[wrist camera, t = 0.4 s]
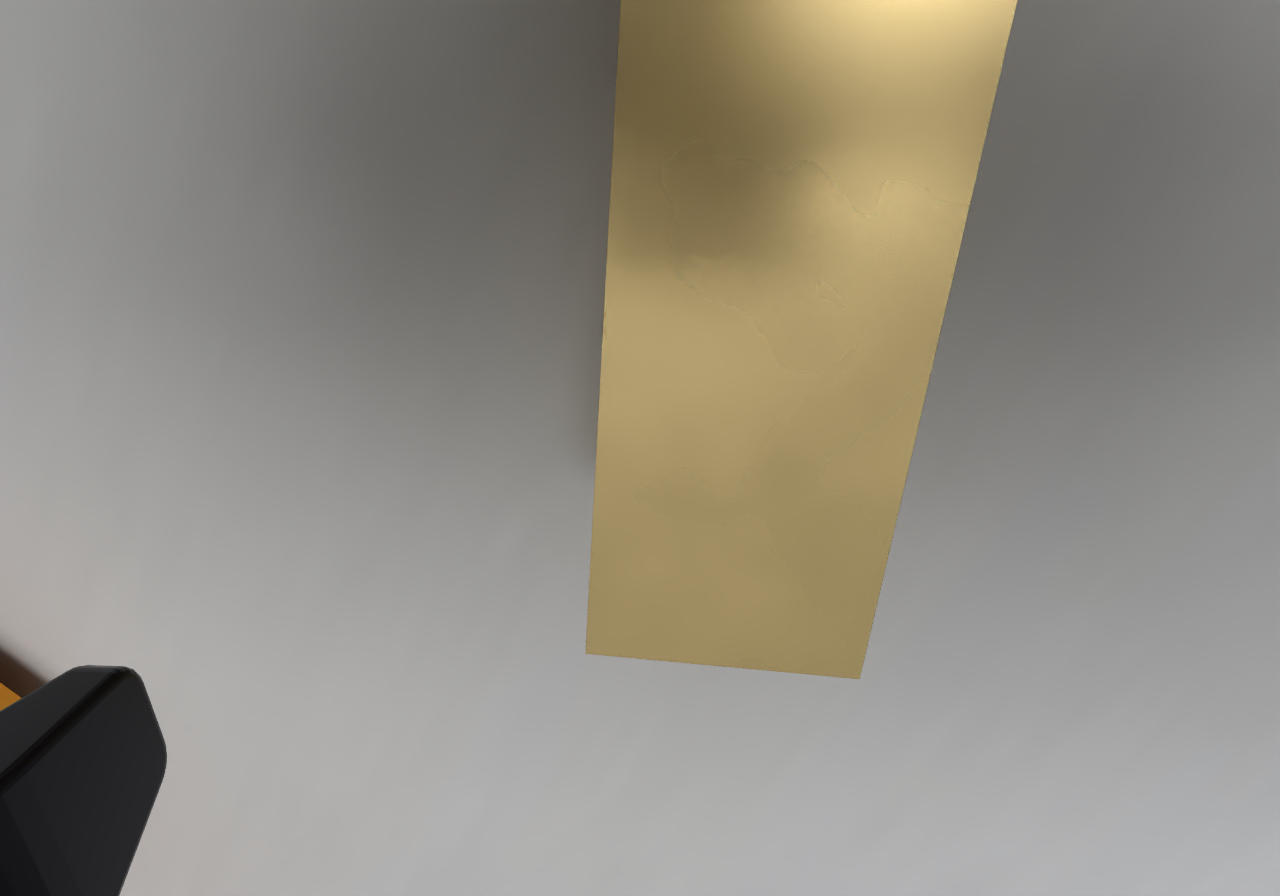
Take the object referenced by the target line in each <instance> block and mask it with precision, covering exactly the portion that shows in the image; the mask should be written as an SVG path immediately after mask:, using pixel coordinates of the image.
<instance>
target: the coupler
mask: <svg viewBox="0 0 1280 896" xmlns="http://www.w3.org/2000/svg"><path fill="white" fill-rule="evenodd" d="M1016 4H1017V0H621V6H620V25H619V43H618V62H617V80H616V99H615V117H614V136H613V154H612V173H611V191H610V210H609V229H608V247H607V266H606V284H605V303H604V321H603V340H602V358H601V377H600V395H599V414H598V432H597V451H596V469H595V488H594V507H593V525H592V544H591V562H590V581H589V599H588V618H587V636H586V654H595V655H606V656H617V657H627V658H638V659H649V660H660V661H670V662H681V663H692V664H703V665H713V666H724V667H735V668H746V669H757V670H767V671H778V672H789V673H800V674H810V675H821V676H832V677H843V678H854V679H860V675H861V671H862V667H863V662H864V658H865V654H866V649H867V645H868V641H869V636H870V632H871V628H872V624H873V619H874V615H875V611H876V606H877V602H878V598H879V593H880V589H881V585H882V581H883V576H884V572H885V568H886V563H887V559H888V555H889V550H890V546H891V542H892V538H893V533H894V529H895V525H896V520H897V516H898V512H899V507H900V503H901V499H902V495H903V490H904V486H905V482H906V477H907V473H908V469H909V464H910V460H911V456H912V452H913V447H914V443H915V439H916V434H917V430H918V426H919V421H920V417H921V413H922V409H923V404H924V400H925V396H926V391H927V387H928V383H929V378H930V374H931V370H932V366H933V361H934V357H935V353H936V348H937V344H938V340H939V335H940V331H941V327H942V323H943V318H944V314H945V310H946V305H947V301H948V297H949V292H950V288H951V284H952V280H953V275H954V271H955V267H956V262H957V258H958V254H959V249H960V245H961V241H962V237H963V232H964V228H965V224H966V219H967V215H968V211H969V206H970V202H971V198H972V194H973V189H974V185H975V181H976V176H977V172H978V168H979V163H980V159H981V155H982V151H983V146H984V142H985V138H986V133H987V129H988V125H989V120H990V116H991V112H992V107H993V103H994V99H995V95H996V90H997V86H998V82H999V77H1000V73H1001V69H1002V64H1003V60H1004V56H1005V52H1006V47H1007V43H1008V39H1009V34H1010V30H1011V26H1012V21H1013V17H1014V13H1015V9H1016Z"/></svg>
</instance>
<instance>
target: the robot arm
mask: <svg viewBox="0 0 1280 896" xmlns="http://www.w3.org/2000/svg"><path fill="white" fill-rule="evenodd" d="M166 762H167V752H166V745H165V741H164V738H163V735H162V732H161V730H160V727H159V724H158V721H157V719H156V716H155V713H154V710H153V708H152V705H151V702H150V699H149V697H148V694H147V691H146V688H145V686H144V683H143V681H142V679H141V677H140V676H139V675H138V674H137V673H136V672H135V671H134V670H133V669H131V668H128V667H123V666H96V665H86V666H78V667H75V668H73V669H71V670H69V671H67V672H65V673H63V674H62V675H60V676H58V677H57V678H55V679H53V680H52V681H50V682H48V683H46V684H45V685H43V686H41V687H40V688H38V689H36V690H35V691H33V692H31V693H30V694H28V695H26V696H24V697H23V698H21V699H19V700H18V701H16V702H14V703H13V704H11V705H9V706H8V707H6V708H4V709H2V710H1V711H0V896H119V895H120V892H121V890H122V887H123V884H124V882H125V879H126V876H127V874H128V871H129V868H130V866H131V863H132V860H133V858H134V855H135V852H136V850H137V847H138V844H139V842H140V839H141V837H142V834H143V831H144V829H145V826H146V823H147V821H148V818H149V815H150V813H151V810H152V807H153V805H154V802H155V799H156V797H157V794H158V792H159V789H160V786H161V784H162V781H163V778H164V774H165V769H166Z"/></svg>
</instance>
